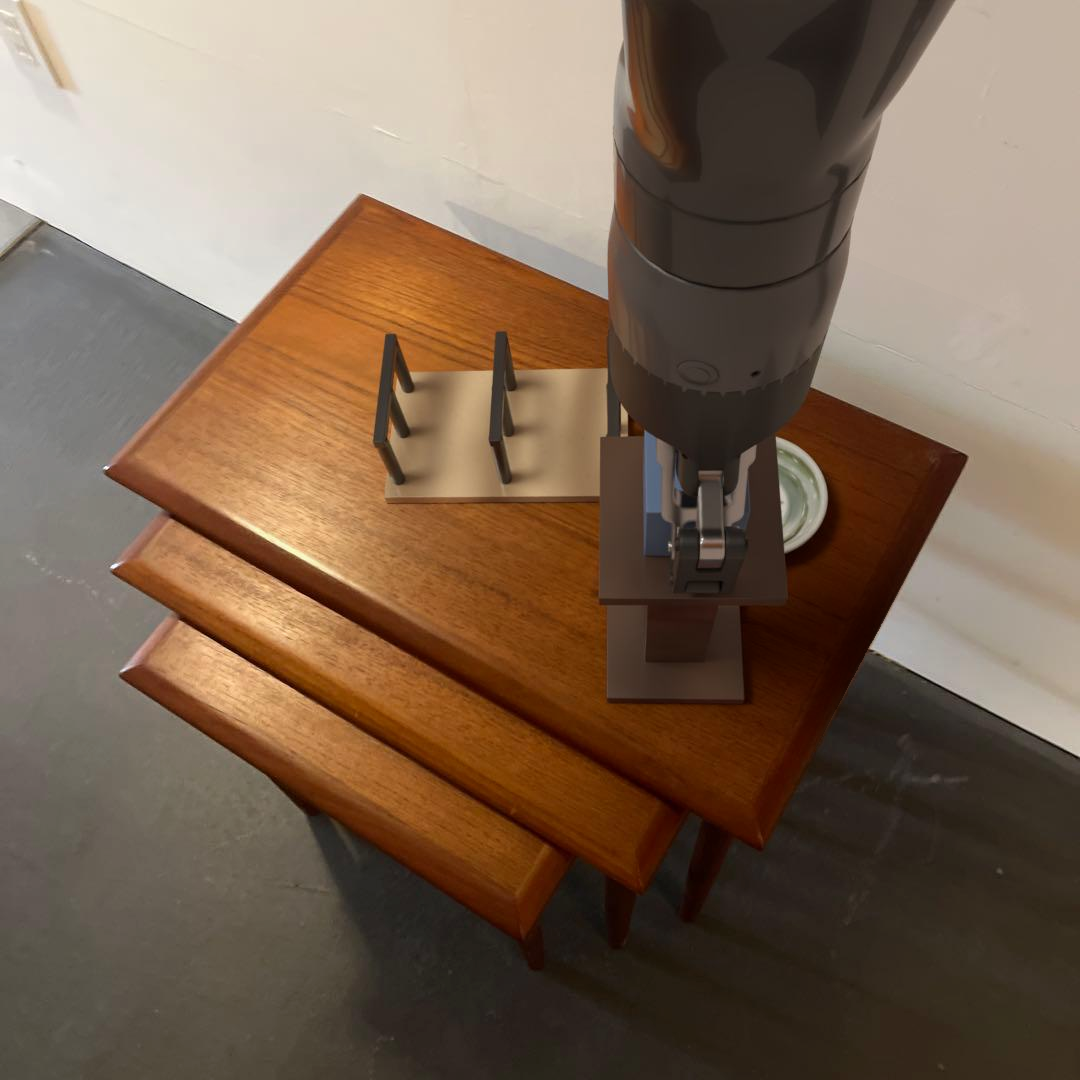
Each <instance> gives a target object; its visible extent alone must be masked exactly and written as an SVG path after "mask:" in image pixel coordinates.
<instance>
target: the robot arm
mask: <svg viewBox="0 0 1080 1080" xmlns="http://www.w3.org/2000/svg"><path fill="white" fill-rule="evenodd" d="M956 1H957V0H620V4H621V7H620V8H621V22H622V23H621V25H622V26H621V27H622V38H623V39H622V43H621V46H620V50H619V53H618V57H617V63H616V71H615V79H614V87H613V107H612V159H613V160H612V163H613V167H612V169H613V209H612V213H611V219H610V225H609V231H608V239H607V254H606V257H607V258H606V259H607V260H606V261H607V262H606V263H607V264H606V265H607V267H606V268H607V300H608V303H607V305H608V329H609V341H610V371H611V378H612V382H613V386H614V389H615V392H616V394H617V397H618V399H619V401H620V402H621V404H622V406H623V407H624V409H625V410H626V412H627V413H628V416H629V417H630V418H631V419H632V420H633V421H634V422H635V423H636V425H638V426H639V427H640V428H641V429H643V430H645V431H647V432H648V433H650V434H651V435H653V436H654V437H656V458H657V462H658V464H659V465H660V466H661V515H662V518H663V519H664V520H665V521H667V522H669V523H671V541H668V552H671V558H670V573H669V585H673V593H684V591H685V593H731V592H732V590H733V587H734V585H735V582H736V580H737V577H738V574H739V572H740V569H741V567H742V564H743V562H744V559H745V551H748V545H749V543H748V538H745V530H744V528H740V527H739V526H731V525H732V524H733V523H734V522H737V521H739V520H740V519H741V518H742V517H743V515H744V509H745V497H746V486H747V475H748V468H749V466H750V465H751V464H752V463H753V462H754V460H755V457H756V446H757V444H758V443H760V442H762V441H764V440H765V439H767V438H769V437H770V436H772V435H776V434H777V433H778V432H779V431H781V430H782V429H783V428H784V427H785V426H787V425H788V423H790V422H791V421H792V420H793V418H794V417H795V416H796V415H797V414H798V412H799V411H800V409H801V408H802V406H803V404H804V403H805V401H806V400H807V399H806V398H807V397H808V395H809V392H810V389H811V386H812V382H813V379H814V376H815V373H816V370H817V367H818V363H819V360H820V357H821V354H822V350H823V347H824V344H825V341H826V338H827V335H828V332H829V328H830V325H831V321H832V318H833V317H834V312H835V309H836V306H837V303H838V299H839V297H840V293H841V290H842V286H843V282H844V281H845V275H846V271H847V268H848V264H849V263H848V262H849V255H850V249H851V239H852V238H851V237H852V226H853V222H854V218H855V213H856V210H857V206H858V204H859V200H860V196H861V193H862V189H863V186H864V183H865V179H866V176H867V173H868V170H869V166H870V164H871V160H872V156H873V153H874V150H875V147H876V143H877V140H878V137H879V133H880V128H881V125H882V121H883V116H884V112H885V111H886V110H887V108H888V107H889V106H890V105H891V103H892V101H893V100H894V99H895V97H896V96H897V95H898V94H899V92H900V91H901V90H902V88H903V87H904V85H905V84H906V83H907V81H908V80H909V78H910V76H912V73H913V72H914V70H915V68H917V65H918V63H919V62H920V60H921V59H922V57H923V55H924V53H925V52H926V50H927V49H928V47H929V45H930V43H931V42H932V40H933V39H934V37H935V35H936V34H937V32H938V30H939V29H940V27H941V25H942V24H943V22H944V21H945V19H946V17H947V16H948V14H949V12H950V11H951V9H952V7H953V6H954V4H955V3H956ZM675 467H676V475H677V478H678V480H679V483H680V486H681V488H682V490H683V491H680V490H678V489H676V488H675V487H674V484H675ZM688 522H696V526H684V525H685V524H686V523H688Z"/></svg>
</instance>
